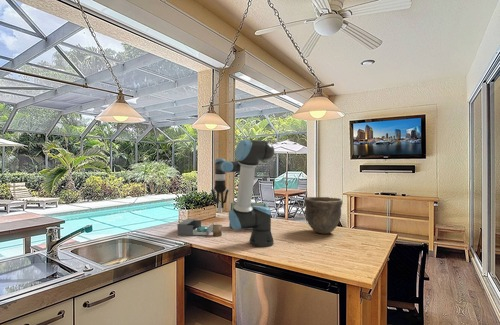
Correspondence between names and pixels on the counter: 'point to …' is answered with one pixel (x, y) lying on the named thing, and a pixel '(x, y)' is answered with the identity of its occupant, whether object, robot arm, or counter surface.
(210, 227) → the tray
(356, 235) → the counter surface
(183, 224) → the box
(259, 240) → the robot arm
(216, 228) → the post
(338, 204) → the clay pot
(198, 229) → the disc
